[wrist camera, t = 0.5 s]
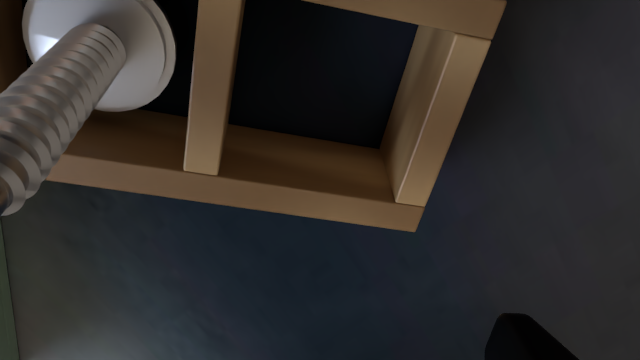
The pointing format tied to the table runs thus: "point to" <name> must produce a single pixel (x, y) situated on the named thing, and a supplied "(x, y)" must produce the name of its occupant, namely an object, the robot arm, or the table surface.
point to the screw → (77, 80)
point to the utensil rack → (279, 148)
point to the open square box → (6, 312)
